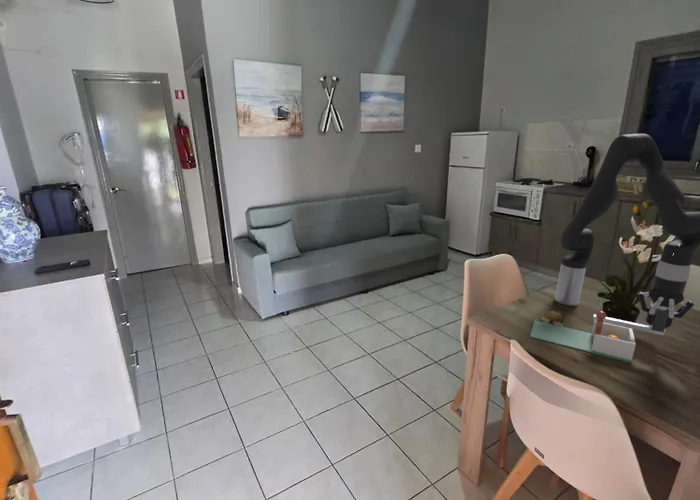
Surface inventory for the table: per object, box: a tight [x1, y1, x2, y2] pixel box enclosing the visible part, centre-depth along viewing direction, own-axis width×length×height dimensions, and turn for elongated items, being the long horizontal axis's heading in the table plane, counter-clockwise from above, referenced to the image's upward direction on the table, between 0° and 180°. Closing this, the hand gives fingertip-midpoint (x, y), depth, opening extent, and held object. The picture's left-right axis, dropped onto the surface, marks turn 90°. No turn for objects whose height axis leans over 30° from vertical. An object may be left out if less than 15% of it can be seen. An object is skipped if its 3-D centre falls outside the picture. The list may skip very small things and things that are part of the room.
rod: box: [592, 306, 669, 344], centre depth 121 cm, size 4×19×17 cm, turn 58°
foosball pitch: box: [529, 319, 637, 364], centre depth 129 cm, size 14×30×6 cm, turn 58°
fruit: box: [540, 310, 565, 327], centre depth 143 cm, size 8×8×4 cm
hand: (657, 325), depth 116 cm, fingers open, 3 cm apart
